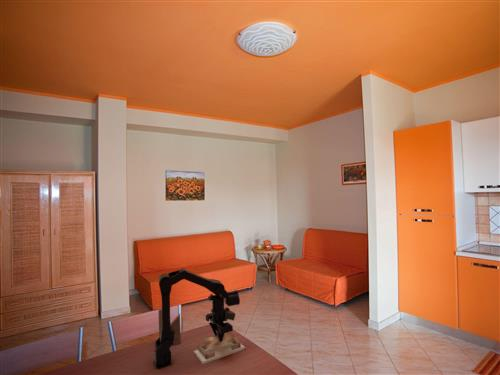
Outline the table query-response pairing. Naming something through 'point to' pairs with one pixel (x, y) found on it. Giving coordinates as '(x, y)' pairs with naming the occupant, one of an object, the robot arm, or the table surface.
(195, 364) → the table surface
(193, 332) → the table surface
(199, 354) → the slat board
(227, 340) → the slat
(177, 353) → the table surface
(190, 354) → the table surface
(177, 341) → the wooden block
